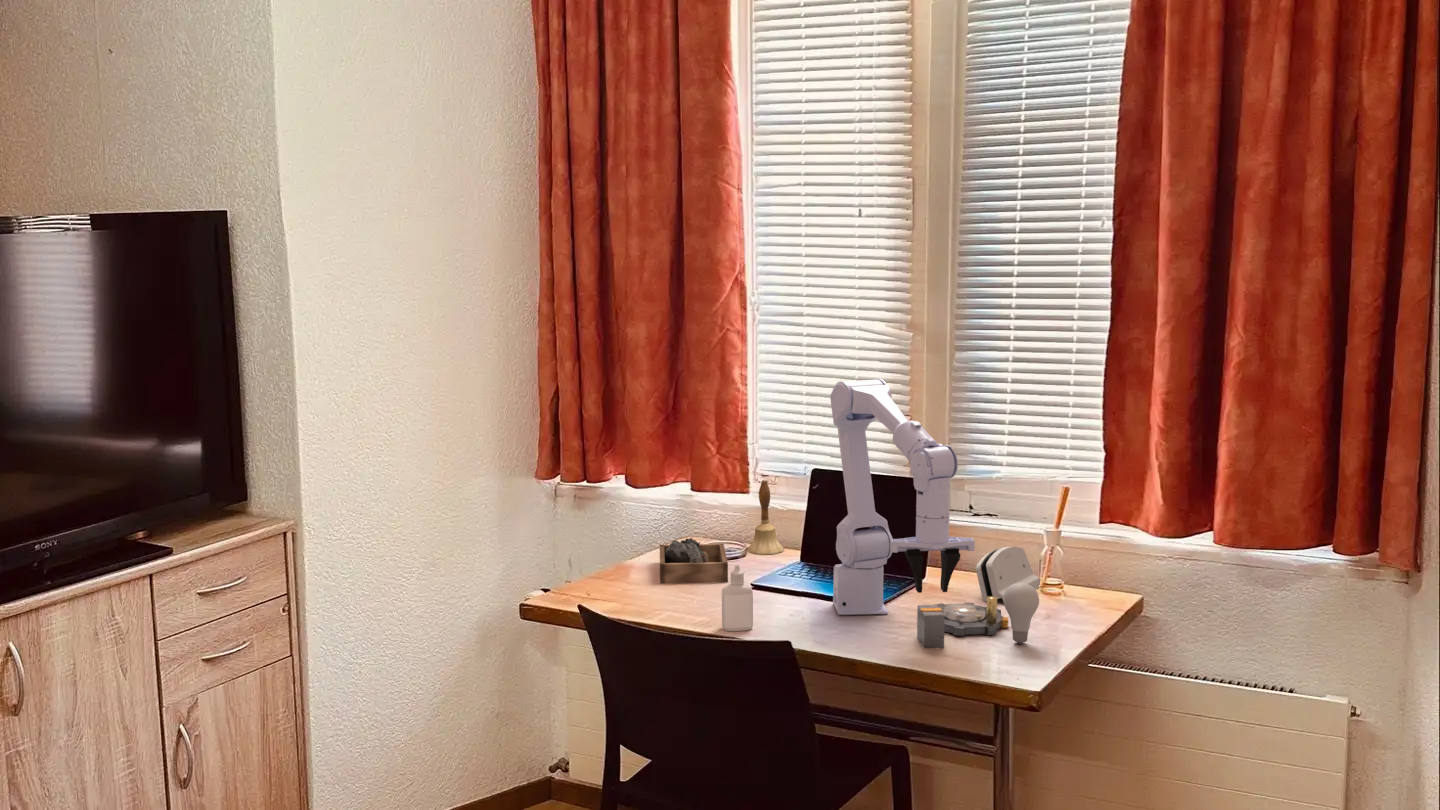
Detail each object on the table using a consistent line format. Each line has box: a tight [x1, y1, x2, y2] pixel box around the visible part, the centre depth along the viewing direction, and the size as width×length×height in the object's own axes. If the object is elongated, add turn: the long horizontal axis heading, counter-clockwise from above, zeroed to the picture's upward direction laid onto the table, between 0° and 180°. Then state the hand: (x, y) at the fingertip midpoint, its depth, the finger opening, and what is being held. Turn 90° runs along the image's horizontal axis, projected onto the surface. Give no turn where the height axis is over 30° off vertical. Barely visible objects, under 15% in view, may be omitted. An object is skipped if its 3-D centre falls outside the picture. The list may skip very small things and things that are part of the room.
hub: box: [943, 603, 985, 623], centre depth 232 cm, size 8×8×3 cm
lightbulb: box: [1002, 583, 1040, 645], centre depth 220 cm, size 6×6×11 cm
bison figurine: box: [664, 537, 709, 563], centre depth 266 cm, size 12×7×10 cm
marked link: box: [916, 604, 945, 650], centre depth 221 cm, size 4×6×6 cm, turn 3°
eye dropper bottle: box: [721, 563, 754, 632], centre depth 229 cm, size 4×6×12 cm
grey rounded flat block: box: [975, 546, 1041, 602], centre depth 251 cm, size 17×5×10 cm, turn 141°
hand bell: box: [746, 480, 785, 556], centre depth 283 cm, size 8×8×16 cm
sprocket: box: [933, 596, 1009, 637], centre depth 231 cm, size 15×15×6 cm
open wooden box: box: [659, 543, 729, 584], centre depth 267 cm, size 14×16×4 cm
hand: (931, 590), depth 220 cm, fingers open, 4 cm apart
